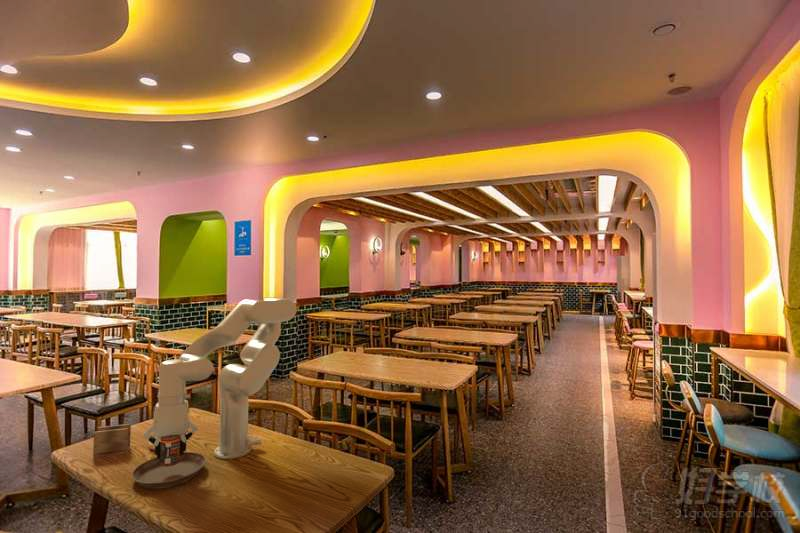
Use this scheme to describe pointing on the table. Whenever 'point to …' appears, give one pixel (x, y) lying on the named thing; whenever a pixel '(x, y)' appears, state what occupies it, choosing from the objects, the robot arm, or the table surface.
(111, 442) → the napkin holder
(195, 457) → the plant saucer
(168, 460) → the supplement bottle
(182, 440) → the robot arm
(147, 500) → the table surface
